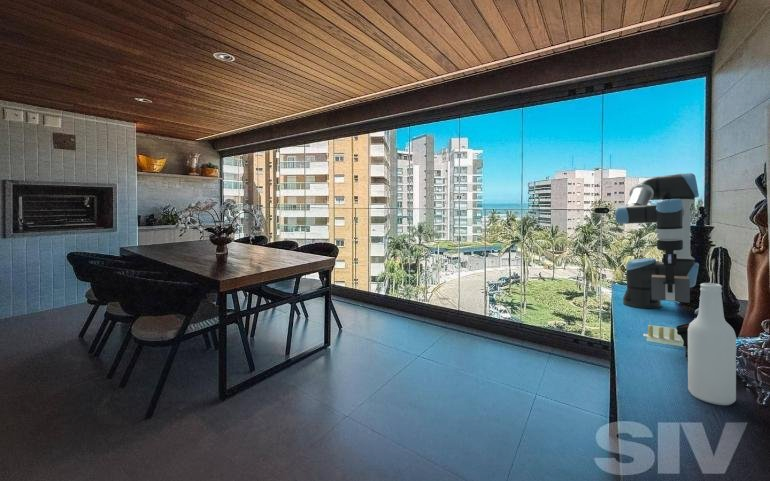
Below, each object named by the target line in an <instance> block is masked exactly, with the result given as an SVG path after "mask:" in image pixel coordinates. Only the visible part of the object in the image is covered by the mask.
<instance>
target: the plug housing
mask: <svg viewBox="0 0 770 481" xmlns="http://www.w3.org/2000/svg"><path fill="white" fill-rule="evenodd" d="M665 281H666V275H652V276H651V288H652V299H653V300H660V301H668V300H665V284H663V282H665ZM674 282H675V301H674V302H676V303H688V304H689V303H691V294H690V293H691V292H690V291H691V287H690V278H689V276H674ZM668 302H669V301H668Z"/></svg>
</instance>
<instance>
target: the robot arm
mask: <svg viewBox="0 0 770 481" xmlns="http://www.w3.org/2000/svg"><path fill="white" fill-rule="evenodd" d="M698 197H700V194H699V188H698V183H697V179H696V175H695V174H694V173H691V172H689V173H688V172H687V173H677V174H669V175H668V174H667V175H662V176H661V175H659V176H652V177H649V178H645V179H643V180H641V181H639V182H637V183H636V184H635V185H633V186H632V188H631V189H630V191H629V198H628V200H627V202H626V204H625V205H622V206H619V207H618V206H617V207H616V209H615V213H614V217H615V222H616V223H617V224H619V225H620V224H622V225H623V224H624V225H628V224H647V223H648V224H651V223H653V224H655V223H656V231H654V234H656V239H657V240H656V249H657V250H659V251H665V253H662V257H661V261H657V259H656V258H653V257H652V258H651V257H649V258H647V257H645V258H636V259H631V260H628V261H627V262H626V268H625V271H626V290H625V292H624V294H623V298H622V304H624V305H626V306H629V307H633V308H640V309H657V308H661V307H662V300H653V299H652V288H651V276H652V275H666V281H665V282H663V284H665V300H668V302H675V282H674V276H689V278H690V288H693V287H695V285H696V283H697V277H698V274H699V268H700V267H699V266H700V264H699V263H698V262H696V261H695V260H696V259H695V258H694V257H693V256H691V205H692V204H693V203H695V200H696V199H697V198H698ZM649 201H656V203H655V204H648V203H649Z"/></svg>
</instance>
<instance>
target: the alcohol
mask: <svg viewBox="0 0 770 481" xmlns="http://www.w3.org/2000/svg"><path fill="white" fill-rule="evenodd" d="M699 286H700V288H699V290H700V295H699V305H698V313H697V316H696V317H695V318H694V319H693V320H692V321H691V322H689V323H690V324H689V323H688V324H689V327H688V361H687V389H688V391H689V393H690V394H691V395H692V396H693V397H695V398H696V399H698V400H700V401H702V402H705V403H708V404H712V405H718V406H730V405H732V404H734V403H735V402H736V401H737V363H736V356H737V336H736V332H735V330H734V328H733V326H731V324H729V323H728V322H727V321H726V319H725V314H724V313H725V312H724V304H723V297H722V293H723V289H722V288H723V285H721V284H720V283H716V282H715V283H714V282H702V283H700V284H699Z"/></svg>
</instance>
